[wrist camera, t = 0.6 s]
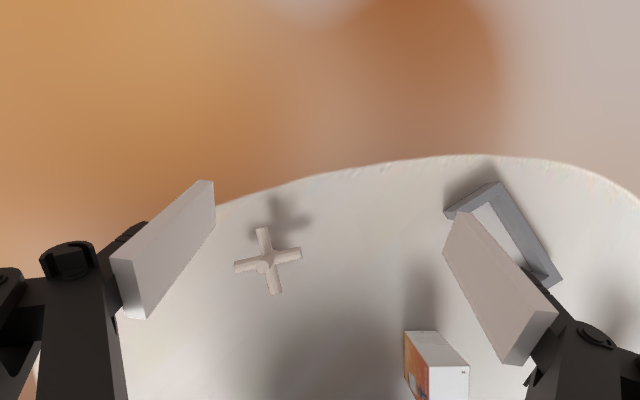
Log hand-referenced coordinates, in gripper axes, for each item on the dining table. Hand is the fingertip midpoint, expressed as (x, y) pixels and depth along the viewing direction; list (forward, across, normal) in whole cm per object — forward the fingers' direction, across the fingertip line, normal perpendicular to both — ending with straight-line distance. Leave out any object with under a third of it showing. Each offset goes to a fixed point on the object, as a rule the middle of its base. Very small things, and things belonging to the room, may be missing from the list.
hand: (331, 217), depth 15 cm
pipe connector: (+25, +7, +22) cm, 34 cm away
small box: (+18, -19, +34) cm, 44 cm away
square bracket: (+28, -29, +17) cm, 43 cm away
